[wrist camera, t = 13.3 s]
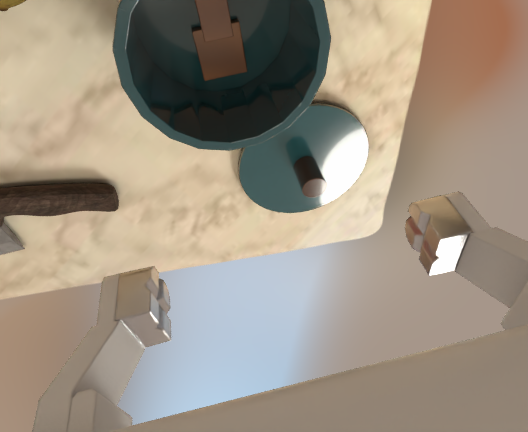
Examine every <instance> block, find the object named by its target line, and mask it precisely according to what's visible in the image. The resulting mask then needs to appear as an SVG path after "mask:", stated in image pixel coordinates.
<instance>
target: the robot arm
mask: <svg viewBox="0 0 528 432" xmlns="http://www.w3.org/2000/svg"><path fill="white" fill-rule="evenodd" d="M408 212H409V214H410V215H411V216H410V217H409V218H408V219H407V220H406V224H405V231H406V236H407V239H408V242H409V243H410V245H411V247H412V248H413V249H414V250H416V251H418V252H420V256H419V260H420V262H421V264H422V265H423V267H424V269H425V270H426V272H427V273H428V275H429V276H431V275H435V274H440V273H444V272H449V271H453V270H455V272H456V273H458V274H460V275H461V276H462V277H464V278H465V279H467V280H468V281H470V282H471V283H473V284H474V285H476V286H477V287H479V288H480V289H482V290H483V291H485V292H486V293H488V294H489V295H491V296H492V297H494V298H495V299H497V300H498V301H500V302H502V303H503V304H505V305H506V306H507V307H509V308H510V309H509V311H508V312H507V314H506V315H505V316H504V318H503V320H502V322H501V325H502V326H503V328H504V329H505V330H504V331H500V332H497V333H493V334H489V335H485V336H481V337H477V338H473V339H469V340H465V341H462V342H457V343H453V344H450V345H446V346H442V347H438V348H434V349H430V350H426V351H422V352H418V353H415V354H410V355H406V356H402V357H399V358H395V359H391V360H387V361H383V362H379V363H375V364H372V365H367V366H363V367H360V368H355V369H352V370H348V371H344V372H340V373H336V374H332V375H328V376H324V377H320V378H316V379H312V380H308V381H305V382H301V383H297V384H293V385H289V386H285V387H281V388H277V389H273V390H270V391H265V392H261V393H258V394H254V395H250V396H246V397H242V398H238V399H234V400H230V401H226V402H223V403H218V404H215V405H211V406H207V407H203V408H199V409H195V410H192V411H187V412H183V413H179V414H175V415H172V416H168V417H164V418H160V419H156V420H152V421H148V422H144V423H140V424H137V425H132V417H131V416H130V415H129V414H127V413H126V412H124V411H123V410H121V409H120V408H119V407H117V404H118V402H119V400H120V398H121V396H122V394H123V392H124V390H125V388H126V386H127V384H128V382H129V380H130V378H131V376H132V374H133V372H134V370H135V368H136V366H137V364H138V362H139V360H140V358H141V356H142V354H143V352H144V350H145V347H149V346H152V345H156V344H159V343H163V342H167V341H170V340H171V321H170V319H169V317H168V316H167V312H168V311H169V309H170V297H169V292H168V289H167V286H166V284H165V282H164V281H163V280H162V279H159V272H158V271H157V269H156V268H155V266H152V267H147V268H143V269H138V270H134V271H129V272H124V273H120V274H116V275H111V276H107V277H104V279H103V281H102V285H101V293H100V301H99V309H98V317H97V325H96V326H94V327H91V329H90V330H89V331H88V333H87V334H86V336H85V337H84V339H83V340H82V341H81V343H80V344H79V345H78V347H77V348H76V350H75V351H74V352H73V354H72V355H71V356H70V358H69V359H68V361H67V362H66V363H65V365H64V366H63V368H62V369H61V370H60V372H59V373H58V374H57V376H56V377H55V379H54V380H53V381H52V383H51V384H50V385H49V387H48V388H47V390H46V391H45V393H44V394H43V395H42V397H41V398H40V399H39V401H38V406H37V411H36V416H35V421H34V425H33V430H32V432H528V241H526V240H523V239H521V238H519V237H517V236H514V235H512V234H510V233H508V232H506V231H504V230H501V229H499V228H497V227H495V228H491V227H490V226H489V224H488V223H487V222H486V221H485V220H484V218H483V217H482V216H481V215H480V214H479V213H478V211H477V210H476V209H475V208H474V207H473V205H472V204H471V203H470V202H469V201H468V199H467V198H466V197H465V196H464V195H463V193H461V192H459V191H458V192H454V193H450V194H445V195H442V196H441V195H440V196H436V197H432V198H428V199H424V200H420V201H417V202H413V203H411V204H410V205H409V209H408Z"/></svg>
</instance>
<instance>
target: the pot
mask: <svg viewBox="0 0 528 432" xmlns="http://www.w3.org/2000/svg"><path fill="white" fill-rule="evenodd" d="M227 2H228V7H229V13H230V18H231V20H234V19H238V20H239V23H240V29H241V35H242V41H243V47H244V53H245V59H246V65H247V72H244V73H239V74H235V75H230V76H225V77H221V78H216V79H211V80H207V81H205V80H204V77H203V73H202V69H201V65H200V61H199V58H198V54H197V50H196V46H195V42H194V38H193V34H192V28H195V27H200V26H201V25H200V21H199V16H198V12H197V8H196V4H195V0H119V3H118V8H117V15H116V23H115V31H114V39H113V53H114V57H115V61H116V65H117V69H118V73H119V77H120V81H121V85H122V88H123V89H124V91H125V92H126V94H127V95H128V97H129V98H130V100H131V101H132V103H133V104H134V106H135V107H136V109H137V110H138V112H139V113H140V115H141V116H142V117H143V118H144V119H146V120H147V121H148V122H149V123H151V124H152V125H153V126H155V127H156V128H157V129H159V130H160V131H161V132H162V133H164V134H165V135H166V136H168V137H169V138H171V139H174V140H176V141H179V142H182V143H185V144H187V145H190V146H193V147H195V148H198V149H199V148H200V149H210V150H228V151H230V150H235V149H239V148H244V147H248V146H252V145H256V144H260V143H263V142H264V141H266V140H268V139H270V138H271V137H273V136H275V135H277V134H278V133H280V132H282V131H284V130H285V129H287V128H289V127H290V126H291V124H292V123H293V122H294V121H295V120H296V119H297V118H298V117H299V116H300V115H301V114H302V113H303V112H304V111H305V110H306V109H307V108H308V107H309V106H310V104H311V103H312V101H313V99H314V97H315V95H316V93H317V91H318V89H319V87H320V85H321V83H322V81H323V79H324V77H325V74H326V69H327V62H328V55H329V49H330V42H331V35H330V30H329V24H328V19H327V13H326V8H325V3H324V1H323V0H227Z"/></svg>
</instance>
